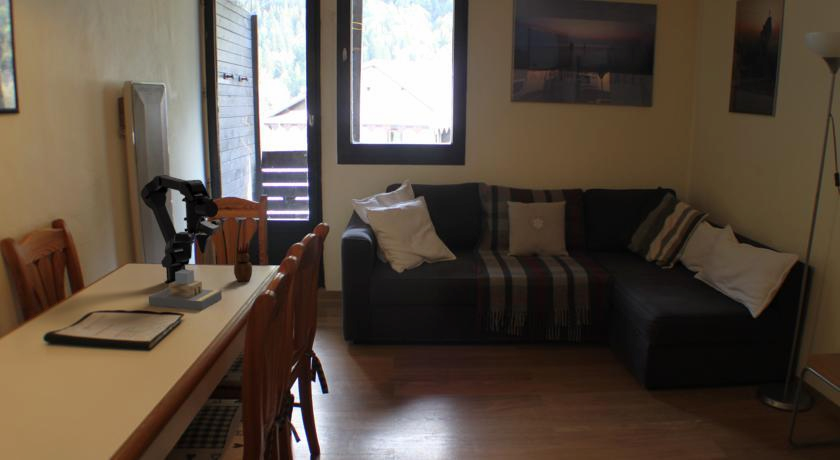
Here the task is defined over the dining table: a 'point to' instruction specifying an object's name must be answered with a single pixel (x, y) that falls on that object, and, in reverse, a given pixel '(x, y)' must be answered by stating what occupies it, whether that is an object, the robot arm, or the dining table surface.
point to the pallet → (185, 289)
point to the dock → (185, 299)
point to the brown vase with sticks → (243, 265)
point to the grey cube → (184, 277)
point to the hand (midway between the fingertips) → (196, 255)
